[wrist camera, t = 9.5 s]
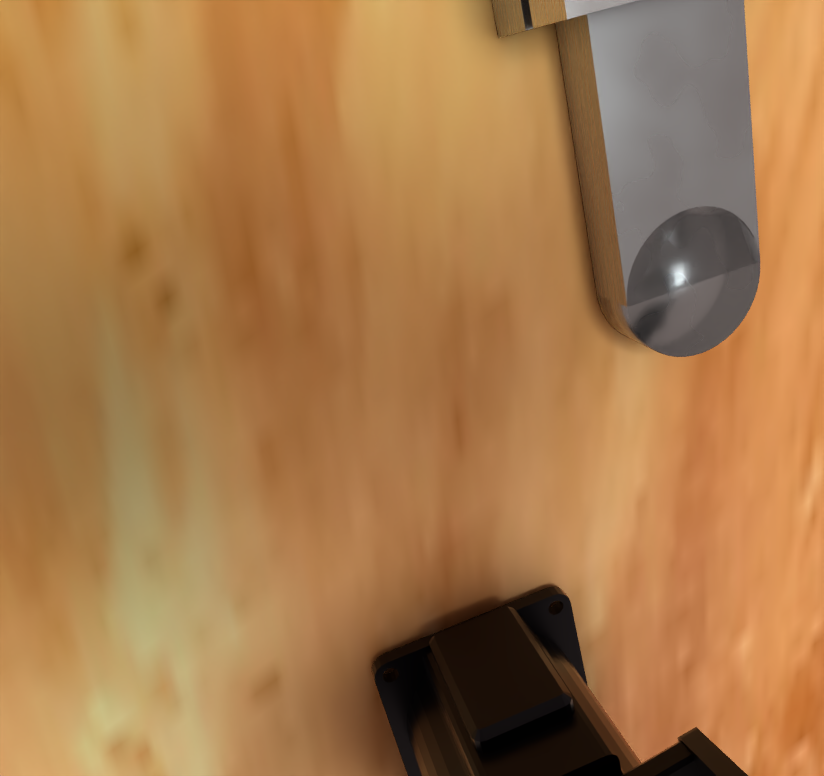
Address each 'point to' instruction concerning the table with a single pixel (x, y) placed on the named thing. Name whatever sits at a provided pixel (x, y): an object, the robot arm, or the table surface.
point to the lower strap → (662, 163)
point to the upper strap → (566, 9)
